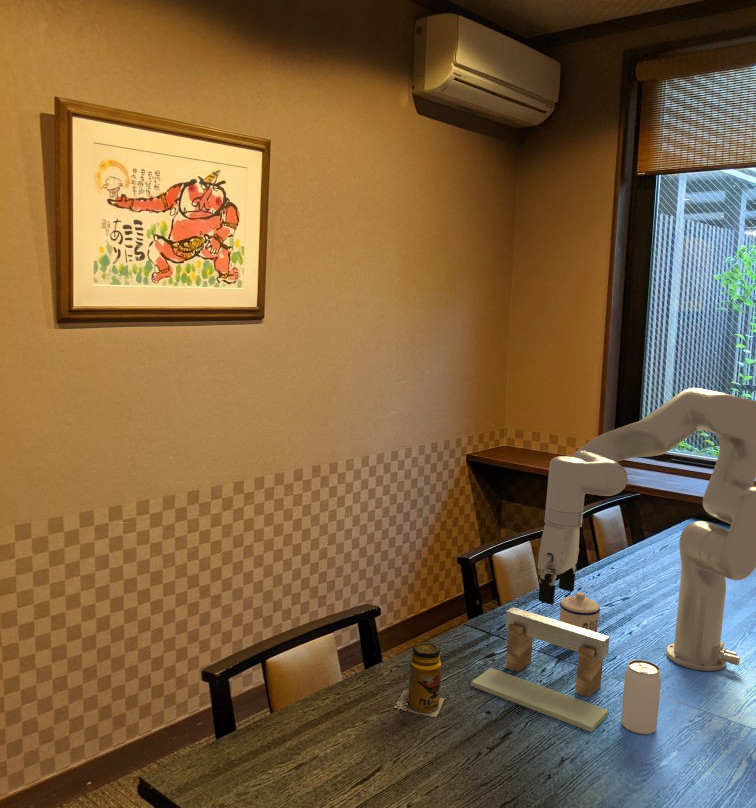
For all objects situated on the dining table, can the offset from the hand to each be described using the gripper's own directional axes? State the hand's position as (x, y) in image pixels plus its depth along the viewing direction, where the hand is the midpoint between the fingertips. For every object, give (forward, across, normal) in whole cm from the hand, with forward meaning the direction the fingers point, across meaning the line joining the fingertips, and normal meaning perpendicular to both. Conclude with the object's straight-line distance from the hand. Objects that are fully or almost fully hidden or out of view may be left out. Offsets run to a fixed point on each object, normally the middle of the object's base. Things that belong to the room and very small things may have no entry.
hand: (556, 596), depth 166 cm
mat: (+18, +10, +2) cm, 21 cm away
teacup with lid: (+18, -23, -2) cm, 29 cm away
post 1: (+18, -1, -8) cm, 20 cm away
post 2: (+18, -1, +8) cm, 20 cm away
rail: (+10, -1, 0) cm, 10 cm away
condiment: (+19, +27, -14) cm, 36 cm away
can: (+18, +6, +22) cm, 29 cm away
